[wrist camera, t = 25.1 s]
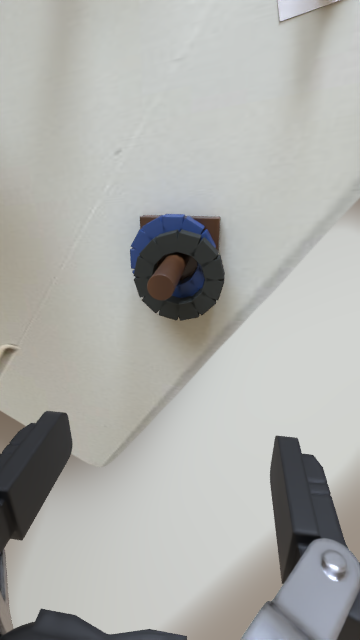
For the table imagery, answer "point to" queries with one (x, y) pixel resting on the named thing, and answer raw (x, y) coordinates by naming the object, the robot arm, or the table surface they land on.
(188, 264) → the stand
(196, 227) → the navy ring
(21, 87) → the table surface
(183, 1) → the table surface
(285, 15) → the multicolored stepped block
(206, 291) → the charcoal ring
